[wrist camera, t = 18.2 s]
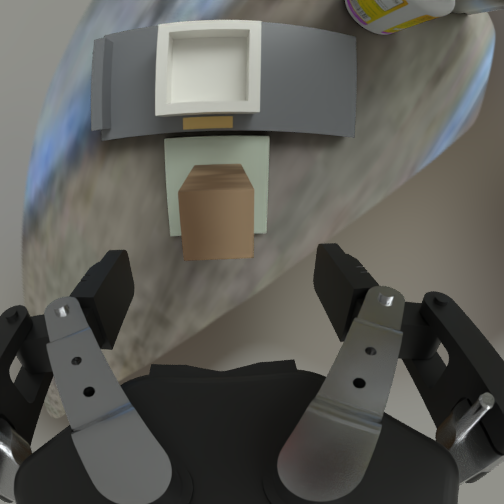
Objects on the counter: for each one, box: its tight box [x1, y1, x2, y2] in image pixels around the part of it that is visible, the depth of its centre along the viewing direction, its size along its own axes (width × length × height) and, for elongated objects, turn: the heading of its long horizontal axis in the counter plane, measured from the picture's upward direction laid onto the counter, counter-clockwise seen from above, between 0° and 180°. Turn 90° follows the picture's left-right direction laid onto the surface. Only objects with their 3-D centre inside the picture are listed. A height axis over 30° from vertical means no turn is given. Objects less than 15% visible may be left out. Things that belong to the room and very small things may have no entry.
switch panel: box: [91, 22, 357, 141], centre depth 19 cm, size 22×10×4 cm, turn 89°
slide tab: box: [155, 20, 261, 117], centre depth 17 cm, size 7×7×4 cm
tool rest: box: [164, 135, 270, 236], centre depth 25 cm, size 9×9×1 cm
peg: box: [178, 164, 254, 261], centre depth 20 cm, size 4×4×10 cm
